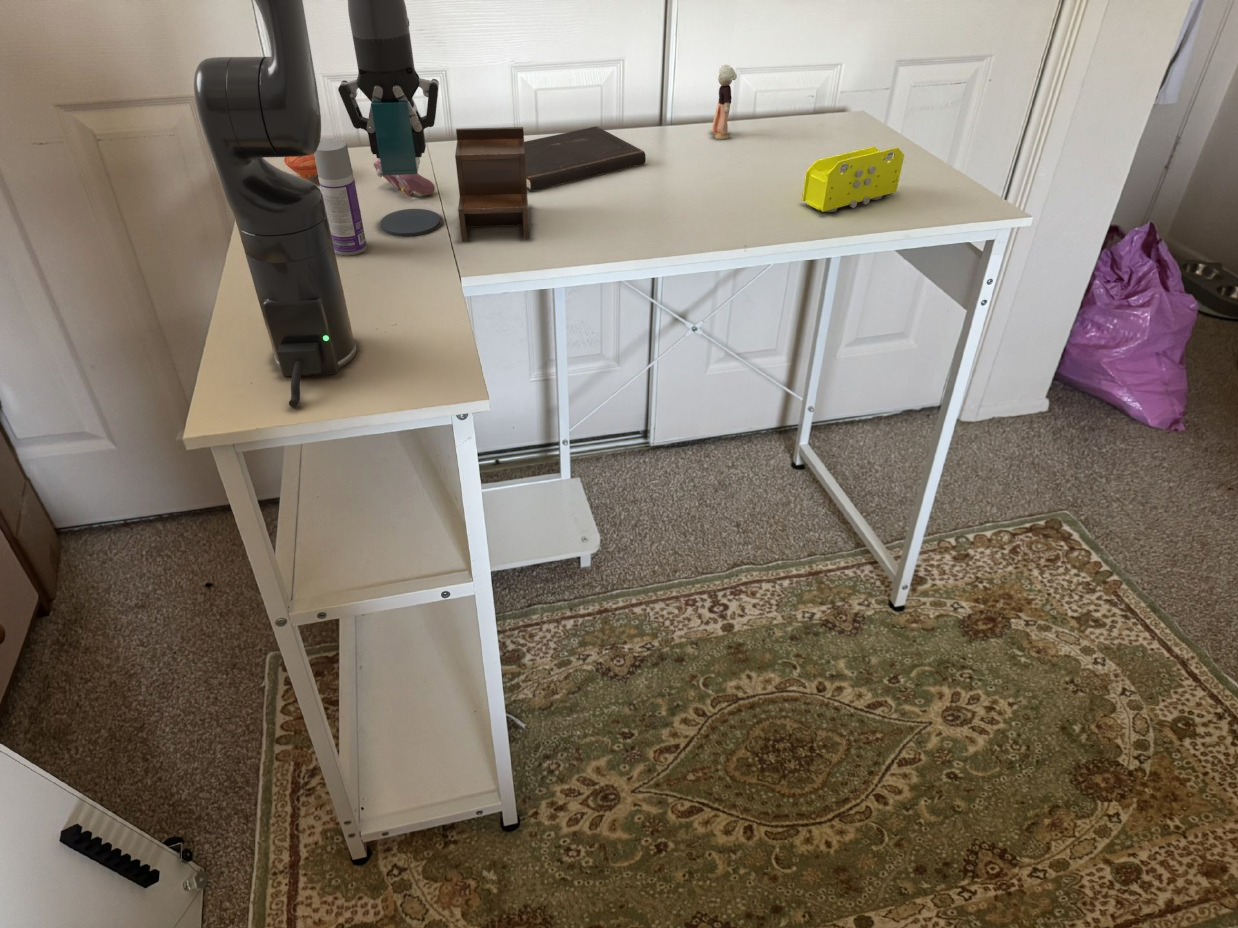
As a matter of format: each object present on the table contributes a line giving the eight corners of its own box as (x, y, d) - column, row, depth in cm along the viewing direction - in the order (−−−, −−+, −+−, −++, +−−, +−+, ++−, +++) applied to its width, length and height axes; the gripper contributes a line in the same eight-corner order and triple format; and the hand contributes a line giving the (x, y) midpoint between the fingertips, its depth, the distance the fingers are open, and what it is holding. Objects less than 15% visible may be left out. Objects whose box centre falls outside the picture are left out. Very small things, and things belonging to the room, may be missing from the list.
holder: (417, 174, 126) (407, 103, 119) (382, 175, 125) (370, 104, 119) (420, 161, 130) (410, 92, 123) (386, 162, 129) (374, 92, 123)
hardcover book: (486, 163, 153) (485, 149, 151) (596, 138, 163) (596, 126, 161) (531, 193, 142) (530, 179, 141) (645, 165, 152) (646, 152, 151)
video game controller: (386, 192, 146) (363, 160, 140) (404, 174, 147) (382, 141, 141) (420, 210, 140) (398, 177, 135) (439, 190, 141) (418, 157, 136)
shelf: (529, 239, 129) (524, 155, 121) (461, 241, 128) (452, 157, 120) (528, 206, 138) (523, 127, 130) (464, 208, 137) (456, 128, 129)
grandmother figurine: (706, 130, 167) (711, 60, 159) (725, 129, 167) (731, 59, 159) (716, 144, 161) (722, 72, 153) (736, 143, 161) (743, 71, 153)
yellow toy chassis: (823, 218, 136) (832, 165, 130) (799, 205, 139) (807, 153, 134) (897, 197, 142) (908, 146, 137) (872, 186, 146) (882, 135, 141)
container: (353, 238, 129) (333, 136, 119) (373, 247, 126) (354, 144, 117) (327, 249, 126) (304, 145, 116) (347, 258, 123) (325, 153, 114)
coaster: (438, 235, 130) (438, 232, 129) (377, 237, 129) (377, 234, 129) (442, 210, 137) (441, 207, 136) (384, 212, 136) (383, 209, 136)
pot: (336, 163, 151) (330, 128, 145) (339, 190, 146) (332, 155, 141) (287, 166, 149) (279, 130, 144) (289, 193, 144) (281, 157, 139)
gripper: (320, 37, 112) (346, 167, 123) (433, 36, 113) (448, 164, 124) (329, 23, 118) (353, 148, 129) (436, 21, 119) (450, 145, 130)
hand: (399, 155), depth 126 cm, fingers closed on holder, 5 cm apart
